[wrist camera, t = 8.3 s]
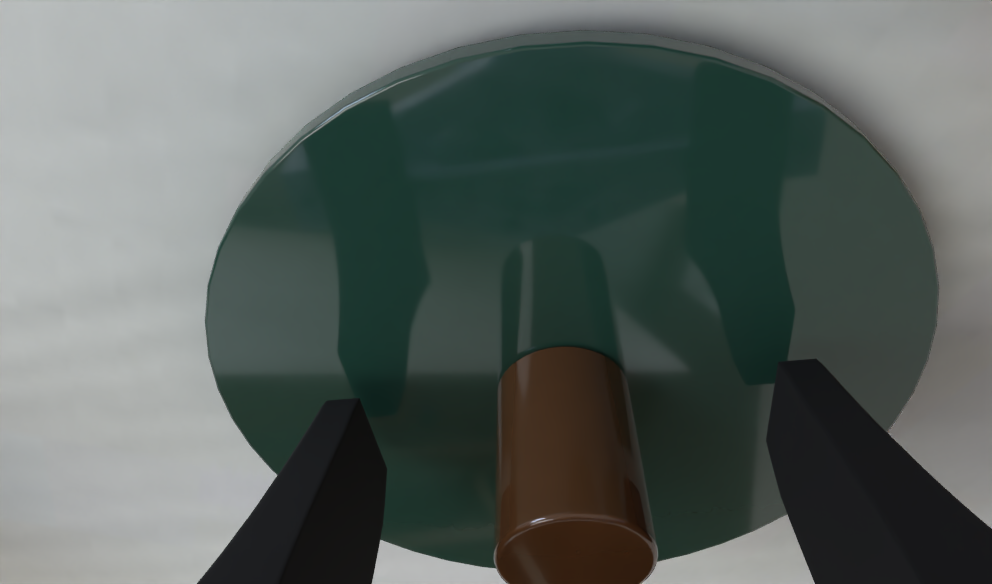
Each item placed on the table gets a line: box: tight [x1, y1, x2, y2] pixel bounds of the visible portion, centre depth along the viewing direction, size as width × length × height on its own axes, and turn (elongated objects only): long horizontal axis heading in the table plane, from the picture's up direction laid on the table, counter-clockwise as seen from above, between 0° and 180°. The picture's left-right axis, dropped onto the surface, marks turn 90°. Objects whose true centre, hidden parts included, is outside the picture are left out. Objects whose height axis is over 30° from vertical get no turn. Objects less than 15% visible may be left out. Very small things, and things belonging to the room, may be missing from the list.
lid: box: [205, 30, 939, 584], centre depth 12 cm, size 13×13×4 cm
